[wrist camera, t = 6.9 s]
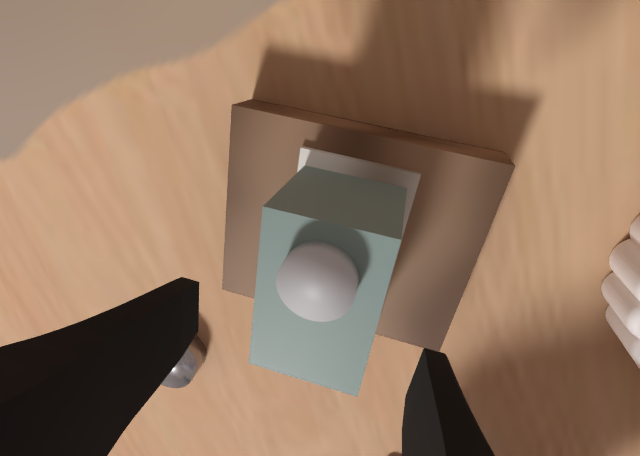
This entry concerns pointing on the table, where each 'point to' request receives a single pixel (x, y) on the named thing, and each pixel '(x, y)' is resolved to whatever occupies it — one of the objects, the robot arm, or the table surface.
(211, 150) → the table surface
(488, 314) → the table surface
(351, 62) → the table surface
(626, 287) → the mooncake
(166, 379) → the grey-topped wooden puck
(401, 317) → the stand
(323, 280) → the block
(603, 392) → the table surface
